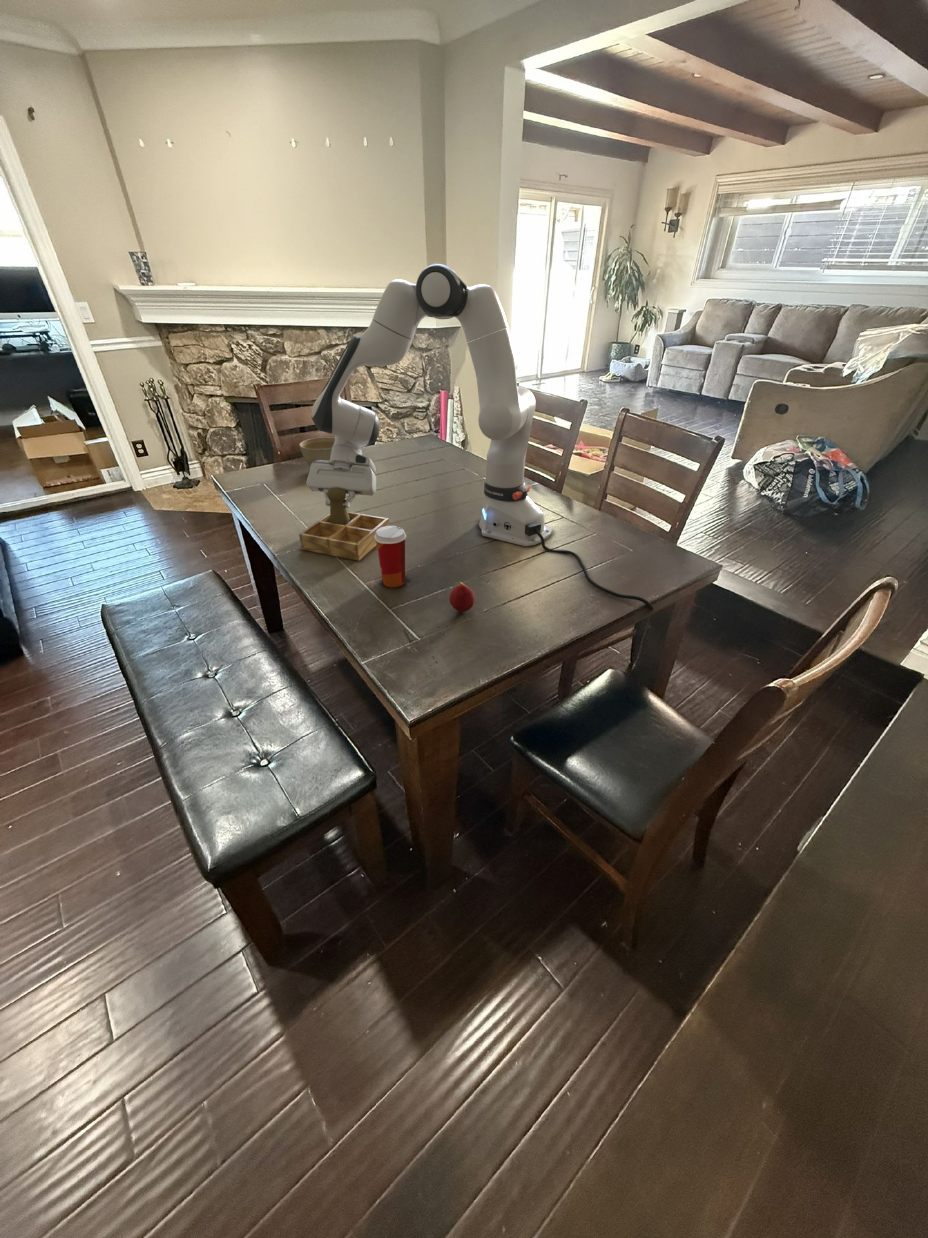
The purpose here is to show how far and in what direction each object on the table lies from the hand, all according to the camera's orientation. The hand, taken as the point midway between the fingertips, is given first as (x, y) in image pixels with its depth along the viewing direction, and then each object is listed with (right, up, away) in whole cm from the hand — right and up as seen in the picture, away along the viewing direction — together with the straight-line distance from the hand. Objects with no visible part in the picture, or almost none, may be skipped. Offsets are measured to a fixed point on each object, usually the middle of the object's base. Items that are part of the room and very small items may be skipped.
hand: (337, 506), depth 148 cm
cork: (0, -5, +4) cm, 6 cm away
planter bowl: (-17, +24, +49) cm, 57 cm away
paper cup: (+19, -23, -18) cm, 35 cm away
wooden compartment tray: (+3, -10, +1) cm, 10 cm away
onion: (+36, -31, -28) cm, 56 cm away
